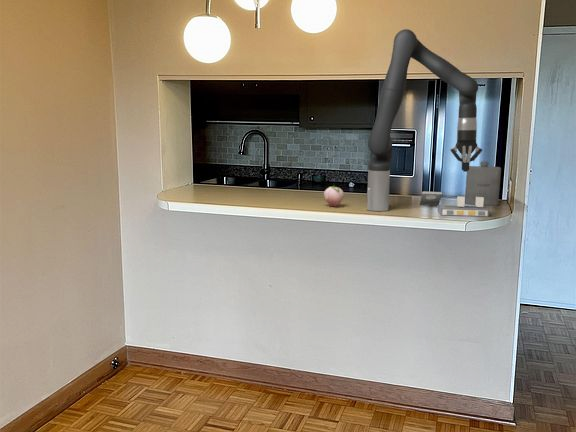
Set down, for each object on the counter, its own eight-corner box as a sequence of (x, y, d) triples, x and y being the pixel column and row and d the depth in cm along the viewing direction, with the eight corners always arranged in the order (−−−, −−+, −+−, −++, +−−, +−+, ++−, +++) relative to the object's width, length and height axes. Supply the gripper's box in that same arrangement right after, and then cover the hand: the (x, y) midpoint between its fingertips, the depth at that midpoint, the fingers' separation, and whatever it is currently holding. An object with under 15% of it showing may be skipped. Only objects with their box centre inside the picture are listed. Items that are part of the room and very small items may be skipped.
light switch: (438, 201, 261) (442, 190, 248) (438, 213, 259) (442, 202, 246) (419, 200, 263) (422, 189, 249) (419, 212, 261) (422, 202, 247)
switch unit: (441, 215, 234) (441, 208, 233) (437, 211, 243) (437, 204, 243) (488, 217, 232) (489, 209, 231) (483, 212, 241) (483, 205, 241)
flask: (465, 204, 263) (468, 161, 260) (464, 202, 269) (467, 160, 265) (499, 206, 260) (502, 162, 257) (497, 204, 266) (500, 161, 262)
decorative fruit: (347, 207, 251) (348, 185, 249) (332, 208, 247) (332, 186, 245) (335, 204, 259) (336, 182, 258) (320, 205, 255) (321, 183, 254)
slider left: (458, 206, 236) (458, 196, 235) (456, 205, 239) (457, 195, 238) (464, 206, 235) (465, 196, 235) (462, 205, 239) (463, 195, 238)
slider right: (477, 207, 235) (477, 196, 234) (475, 205, 238) (475, 195, 237) (483, 207, 235) (483, 197, 234) (481, 205, 238) (482, 195, 237)
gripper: (451, 129, 228) (450, 172, 231) (485, 129, 227) (483, 172, 230) (448, 129, 236) (447, 170, 239) (481, 128, 234) (479, 170, 237)
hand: (465, 171), depth 234 cm, fingers closed
